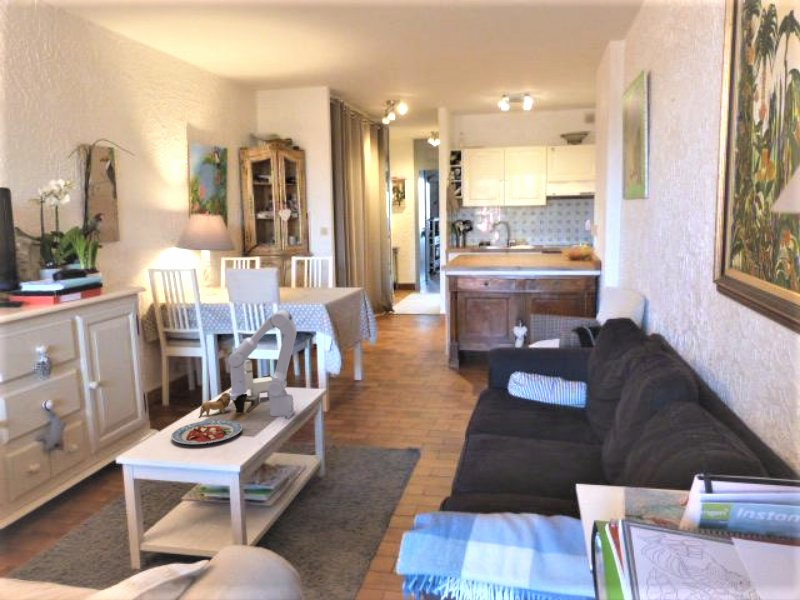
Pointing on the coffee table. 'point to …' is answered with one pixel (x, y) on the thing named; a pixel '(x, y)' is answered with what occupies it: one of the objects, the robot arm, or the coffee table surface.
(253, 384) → the toy llama
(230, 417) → the cradle
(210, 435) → the ceramic plate
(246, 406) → the slat
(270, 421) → the coffee table surface
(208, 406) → the lion figurine
